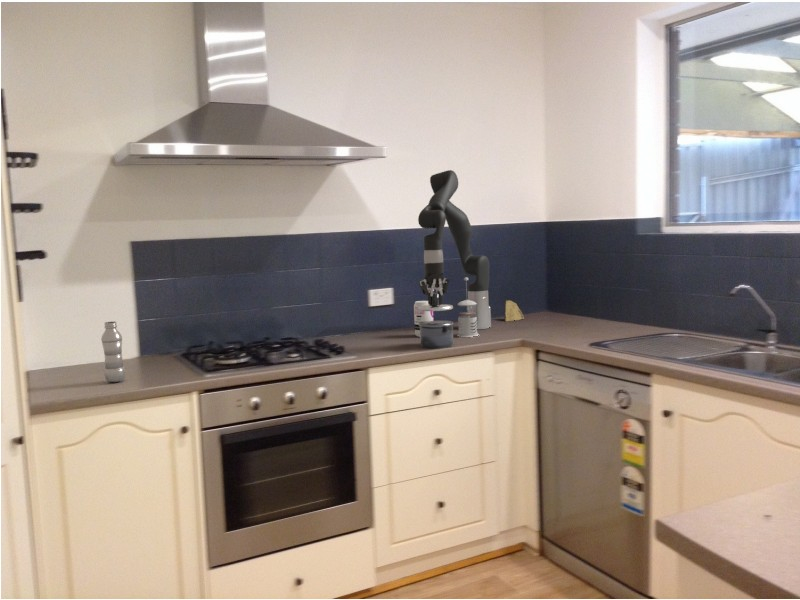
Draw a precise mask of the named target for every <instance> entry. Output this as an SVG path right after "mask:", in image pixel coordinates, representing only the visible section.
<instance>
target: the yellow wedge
mask: <svg viewBox="0 0 800 600" xmlns="http://www.w3.org/2000/svg"><path fill="white" fill-rule="evenodd" d="M504 309H505V310H504V311H505V313H504V322H506V321H507V322H514V320H515V321H520V320H524V319H525V318H524V314H523V312H522V310H521V309H520V308H519V306H518V304H517V303H516V302H514V301H513V300H509V299H508V300H507V299H506V300H505V304H504Z"/></svg>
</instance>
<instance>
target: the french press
mask: <svg viewBox="0 0 800 600" xmlns="http://www.w3.org/2000/svg"><path fill="white" fill-rule="evenodd" d="M463 281H465V288H466V291H465V293H466V295H465V296H466V298H468V285H467V281H469V277H467V276H466V277H464V278H463ZM476 304H477V303H475V302H473V301H470V300H468V299H464V300H462V301H459V302H457V306H459V307H466V310H467V311H464V312H463V311H462V312H459V313H458V315H459V316H458V318H457V320H458V321H457V322H458V334H456V337H457V336H461V337H460V338H462V337H471V338H474V337H473V336H478V335H479V336H480V334H479V332H478V329H477V316H473V315H475V314H476V313H475V312H473V311H472V312H469V309H468V306H471V308H472V306H474V305H476ZM471 308H470V309H471ZM469 315H472V316H470V318H469ZM475 322H476V323H475ZM475 325H476V326H475ZM475 328H476V329H475ZM479 336H478V337H479Z"/></svg>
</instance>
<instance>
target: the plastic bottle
mask: <svg viewBox="0 0 800 600" xmlns="http://www.w3.org/2000/svg"><path fill="white" fill-rule="evenodd" d="M117 327H118V325H117V321H106V322H104V329H105V330H104V332H103V334H102V335H101V344H102V348H103V353H104V378H105V381H106V382H107V383H108V382H109V383H119V382H121V381H123V380H125V379H126V369H125V366H124V361H123V354H122V352H123V350H122V347H123V346H122V344H123V336H122V334H121V333H120V331H119V330H118V329H117Z"/></svg>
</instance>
